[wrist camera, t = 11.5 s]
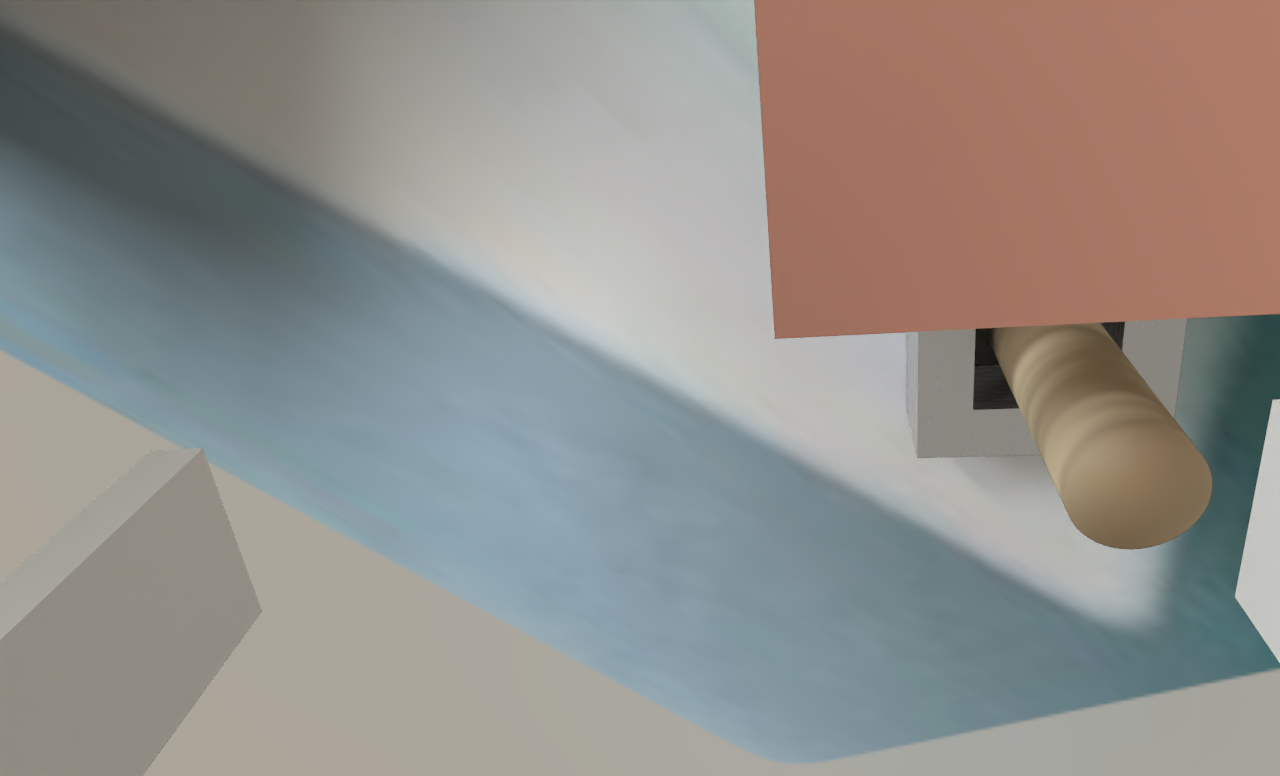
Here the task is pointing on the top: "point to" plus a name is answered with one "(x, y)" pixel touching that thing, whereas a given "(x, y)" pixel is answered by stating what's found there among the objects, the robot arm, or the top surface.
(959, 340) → the socket
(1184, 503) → the peg
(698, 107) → the top surface
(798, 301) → the pink-topped stool
